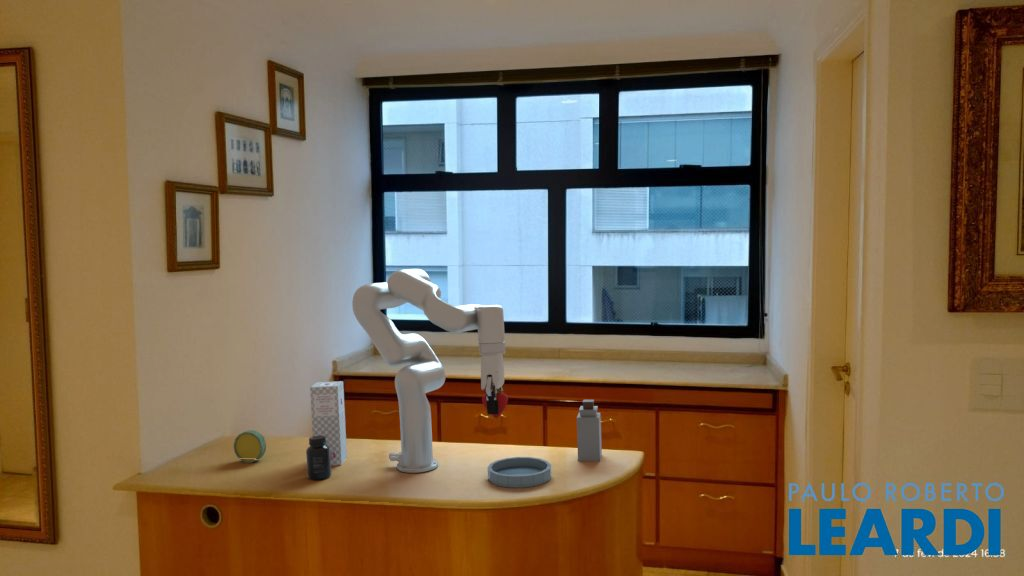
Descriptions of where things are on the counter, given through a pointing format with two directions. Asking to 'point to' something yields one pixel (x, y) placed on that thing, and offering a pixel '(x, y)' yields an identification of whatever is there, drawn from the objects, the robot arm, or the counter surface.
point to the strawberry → (502, 402)
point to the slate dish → (519, 472)
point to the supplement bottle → (318, 458)
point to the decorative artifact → (249, 446)
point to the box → (330, 417)
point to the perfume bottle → (589, 432)
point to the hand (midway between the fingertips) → (495, 410)
